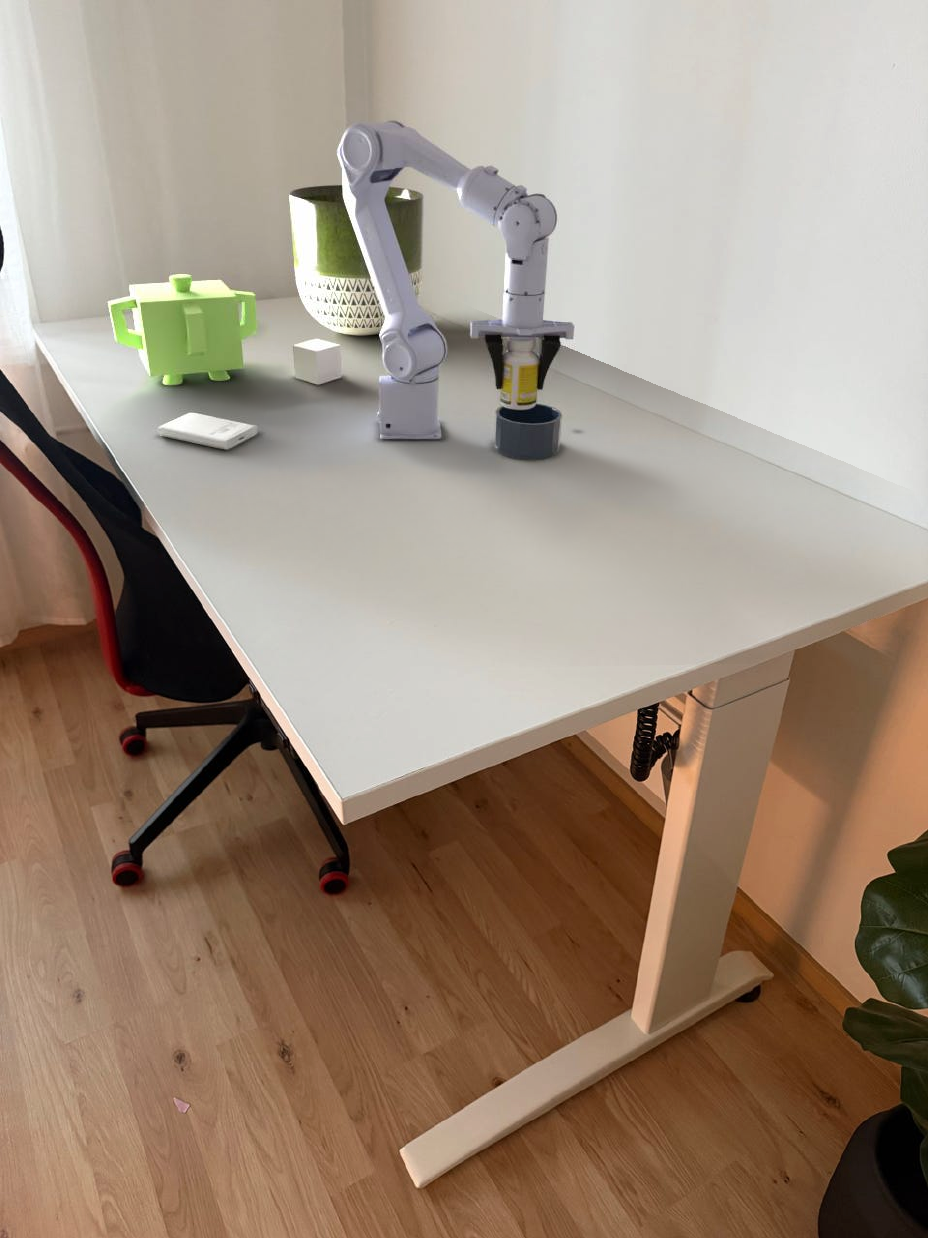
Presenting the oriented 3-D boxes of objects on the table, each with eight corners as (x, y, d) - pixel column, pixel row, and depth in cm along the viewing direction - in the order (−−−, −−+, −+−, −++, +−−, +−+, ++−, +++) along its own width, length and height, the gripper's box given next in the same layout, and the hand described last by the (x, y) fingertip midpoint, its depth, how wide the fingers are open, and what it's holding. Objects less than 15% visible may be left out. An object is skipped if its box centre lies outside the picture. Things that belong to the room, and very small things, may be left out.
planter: (419, 350, 191) (420, 205, 176) (287, 345, 190) (277, 200, 176) (426, 317, 213) (426, 186, 199) (308, 313, 213) (300, 182, 199)
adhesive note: (318, 370, 177) (316, 338, 174) (341, 377, 174) (340, 344, 171) (294, 377, 173) (292, 344, 170) (318, 384, 170) (316, 351, 167)
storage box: (129, 399, 160) (112, 294, 151) (114, 362, 178) (98, 266, 169) (274, 384, 169) (267, 285, 160) (246, 351, 186) (238, 259, 178)
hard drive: (193, 421, 152) (257, 434, 148) (159, 437, 146) (225, 451, 141) (192, 411, 151) (257, 424, 147) (157, 426, 145) (224, 440, 140)
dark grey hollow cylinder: (497, 459, 141) (499, 424, 138) (491, 435, 150) (492, 402, 147) (563, 459, 142) (566, 424, 139) (553, 435, 151) (556, 402, 148)
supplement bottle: (540, 401, 141) (545, 335, 136) (530, 412, 136) (534, 344, 131) (505, 396, 142) (509, 330, 137) (494, 407, 138) (497, 340, 133)
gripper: (474, 296, 127) (470, 395, 134) (581, 298, 128) (572, 396, 135) (470, 285, 133) (467, 380, 140) (572, 286, 134) (564, 381, 141)
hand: (518, 387), depth 138 cm, fingers closed on supplement bottle, 5 cm apart
